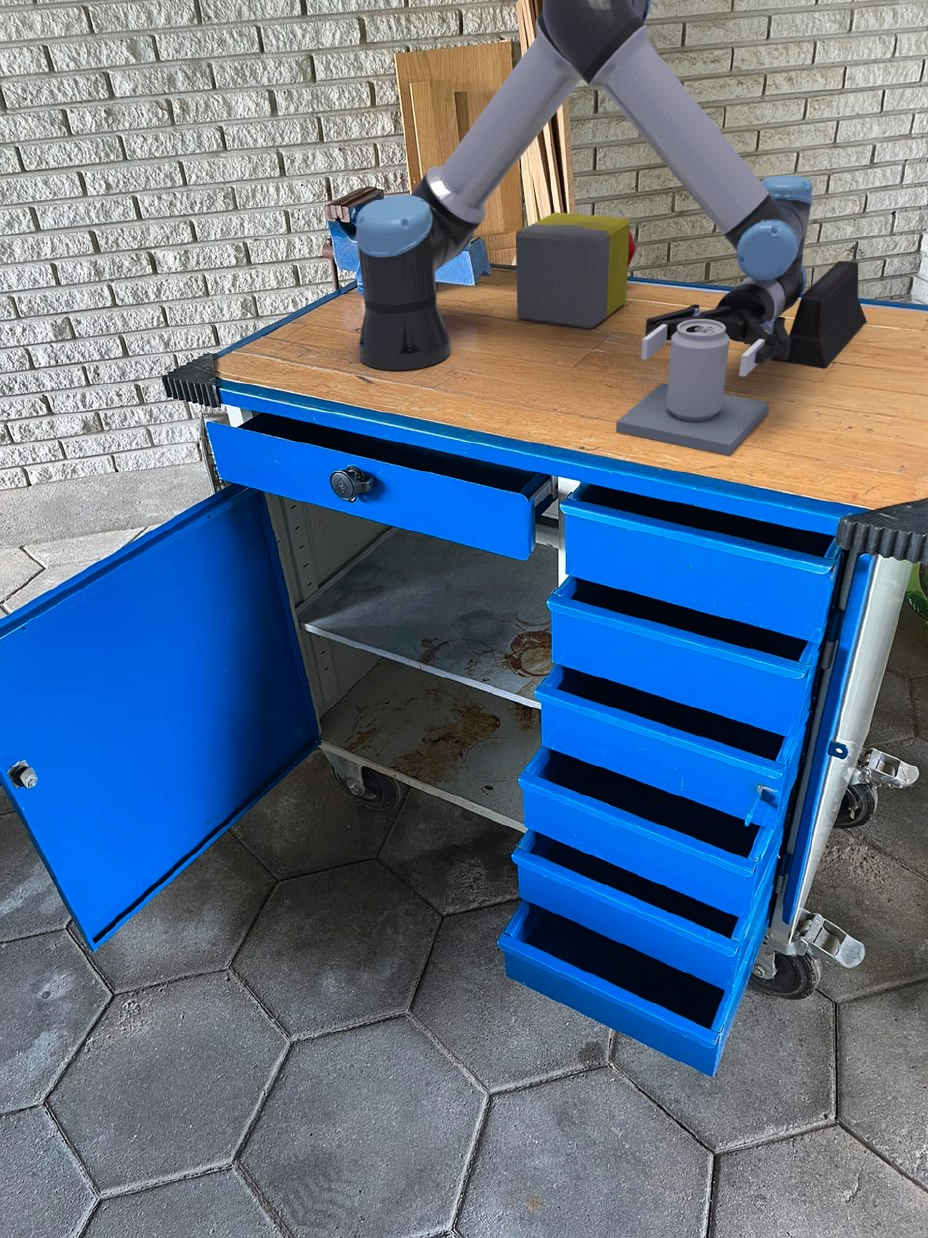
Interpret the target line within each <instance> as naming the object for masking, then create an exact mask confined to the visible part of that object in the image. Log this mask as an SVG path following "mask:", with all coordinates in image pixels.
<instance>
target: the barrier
mask: <svg viewBox="0 0 928 1238" xmlns="http://www.w3.org/2000/svg"><path fill="white" fill-rule="evenodd" d="M800 297H801V298H800V300H799V304H798V306H797V310H796V314H795V316H794V319H793V321H792V325H791V329H790V331H789V334H788V336H789V338H790V340H791V341H790V349H789V355H788V359H787V360H780V359H779V358H778V356H773V359H771V361H773V362H774V361H775V362H779V363H780V362H781V363H785V364H786V363H787V364H792V363H793V364H792V365H798V364H799V365H800V366H805V367H812V368H816V369H817V368H818V369H825V370H826V369H827V368H828V367H829V366H830V365H831V364H832V363H833V361H834V360H835V359H836V358H837V357H838V356H839V354H840V353H841V352H842V351H843V350H844V349H845V348H846V346H847V345H849V343H850V342H851V341H852V340H853V338H854V337H855V336H856V335H857V334H858V333H859V331H861V329H862V328H863V327H864V326H865V325H866V324H867V322H868V321H867V318H866V315H865V312H864V311H863V308H862V305H861V303H860V300H859V262H854V261H852V262H851V261H845V260H844V261H843V260H839V261H837V262H836V263H835V264H834V265H833V266H832V267H831V268H829V270H828V271H826V273H825V274H823V275H822V276H821V277H820V278H818V280H817V281H816V282H815V283H814V284H812V286H810V288H808V289H807V290H806V291H805V292H803V293H802V294H801V296H800ZM863 325H864V326H863ZM857 332H858V333H857ZM837 355H838V356H837ZM799 365H798V366H799Z"/></svg>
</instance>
